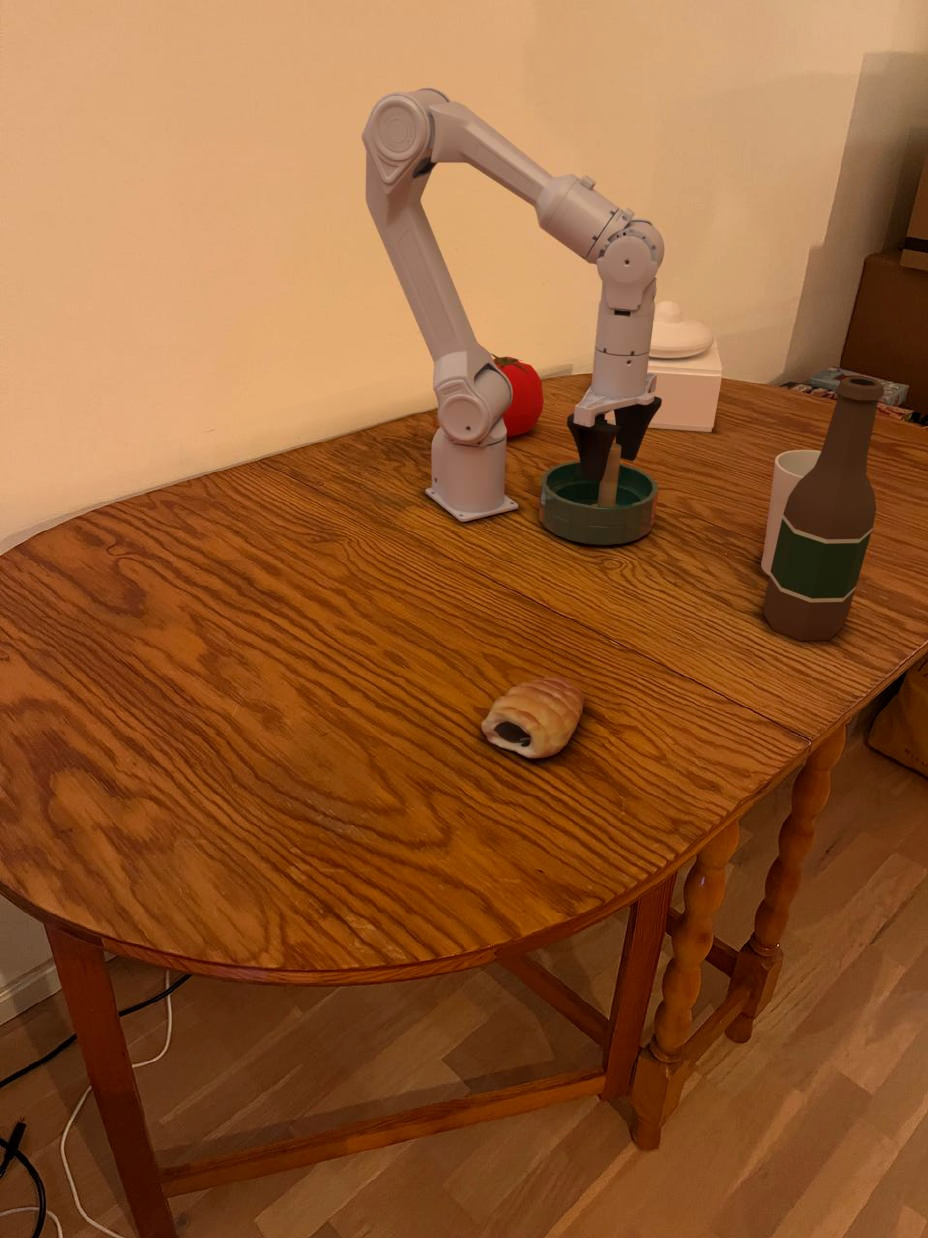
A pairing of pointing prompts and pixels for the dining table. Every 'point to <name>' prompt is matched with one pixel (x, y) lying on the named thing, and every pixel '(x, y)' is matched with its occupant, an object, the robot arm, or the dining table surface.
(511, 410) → the tomato
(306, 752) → the dining table surface
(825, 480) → the beer bottle
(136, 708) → the dining table surface
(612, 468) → the peg on round base
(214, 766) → the dining table surface
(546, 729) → the pastry
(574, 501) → the bowl
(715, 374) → the butter dish
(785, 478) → the cup
